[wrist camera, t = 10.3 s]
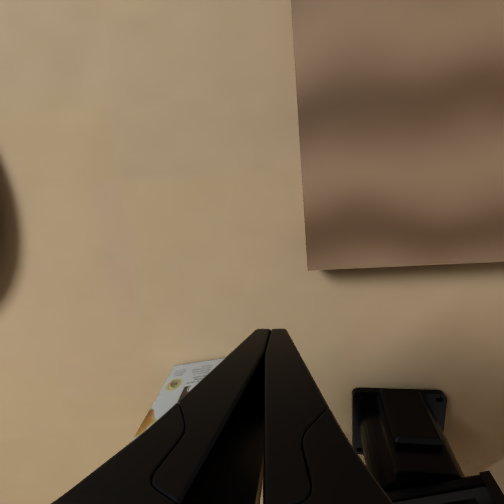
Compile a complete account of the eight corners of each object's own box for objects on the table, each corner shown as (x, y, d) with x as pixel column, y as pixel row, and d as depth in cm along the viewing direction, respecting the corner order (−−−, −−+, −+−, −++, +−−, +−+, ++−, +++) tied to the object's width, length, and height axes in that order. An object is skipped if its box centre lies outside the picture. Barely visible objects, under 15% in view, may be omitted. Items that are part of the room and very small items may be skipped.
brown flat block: (510, 246, 18) (537, 260, 16) (307, 257, 20) (307, 270, 18) (571, -108, 13) (622, -156, 11) (289, -40, 15) (287, -69, 13)
